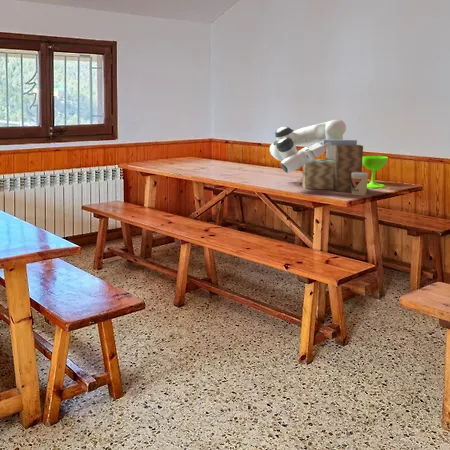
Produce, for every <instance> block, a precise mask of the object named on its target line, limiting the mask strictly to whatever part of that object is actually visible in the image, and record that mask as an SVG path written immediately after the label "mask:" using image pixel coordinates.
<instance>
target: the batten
mask: <svg viewBox="0 0 450 450" xmlns="http://www.w3.org/2000/svg"><path fill="white" fill-rule="evenodd" d="M322 142H323V145H325V144H327V143H328V142H331V145H348V146H357V145H358V140H357V139H343V140H322Z"/></svg>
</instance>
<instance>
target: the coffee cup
mask: <svg viewBox="0 0 450 450" xmlns="http://www.w3.org/2000/svg"><path fill="white" fill-rule="evenodd" d="M368 180H369V173H368V172H364V171H362V172H352V174H351V182H352V191H351V195H352V194H353V196H366V195H367V191H368V188H367V183H368V182H369V181H368Z"/></svg>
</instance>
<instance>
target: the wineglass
mask: <svg viewBox="0 0 450 450" xmlns="http://www.w3.org/2000/svg"><path fill="white" fill-rule="evenodd" d="M388 161H389V157H388V156H384V155H363V159H362V166H364V167H365V168H366V169H367V170H370V171H371V181H370V182H369V183H368V182H367V189H370V188H371V190H376V189H378V190H380V189H379V188H382V189H386V188H387V185H386V184H382V183H377V182H376V171H379V170H381V169H383V168H384V167H385V166H386V164H387V163H388Z"/></svg>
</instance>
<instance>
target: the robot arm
mask: <svg viewBox="0 0 450 450" xmlns="http://www.w3.org/2000/svg"><path fill="white" fill-rule="evenodd" d="M346 130H347V124H346V123H345V121H343V120H341V119H332V120H329V121H325V122H320V123H316V124H313V125H309V126H303V127H301V128H298V129H296V130H294V129H292V128H291V127H288V126H281V127H279V128H277V129H276V130H275V133H274V134H275V136H274V137H275V139H276V140H274V142H273V143H271V144H270V145H269V153H270V155H271V156H272V157H273V158H274V159H275V160H277V161H280V166H281V169H282V171H284V173H286V174H289V173H292V172H295V171H297V170H298V169H300V168H302V167H303V165H305V164H307V163H309V162H311V161H313V160H316V158H318V157H319V156H321V155H323V154H324V153H325V158H324V159H323V160H335V145H331V142H328V143H327V144H325V145H323V140H344V136H343V135H344V134H345V132H346ZM320 141H321V142H320ZM319 142H320V143H319ZM310 144H312V145H310ZM304 145H310V146H309V147H308V146H304ZM297 146H304V147H303V148H301V149H299V150H298V149H297Z"/></svg>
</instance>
